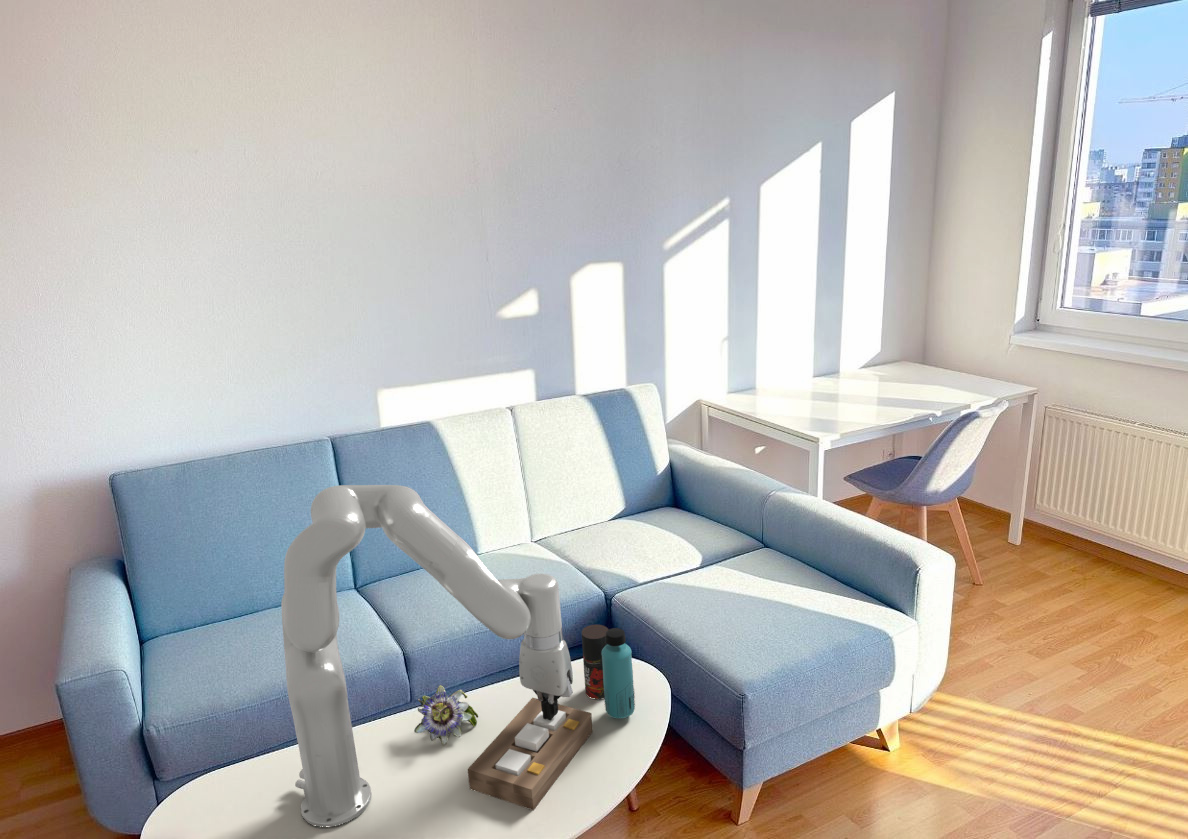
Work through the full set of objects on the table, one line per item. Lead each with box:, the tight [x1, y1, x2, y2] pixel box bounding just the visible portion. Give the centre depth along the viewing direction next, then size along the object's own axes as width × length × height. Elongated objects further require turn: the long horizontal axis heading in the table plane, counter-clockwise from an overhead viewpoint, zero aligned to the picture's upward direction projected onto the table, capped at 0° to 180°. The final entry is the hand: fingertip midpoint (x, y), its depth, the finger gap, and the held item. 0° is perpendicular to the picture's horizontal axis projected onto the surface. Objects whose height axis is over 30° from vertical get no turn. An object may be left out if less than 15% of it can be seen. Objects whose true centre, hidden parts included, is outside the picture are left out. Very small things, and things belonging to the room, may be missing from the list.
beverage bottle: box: [602, 627, 636, 719], centre depth 174 cm, size 6×7×20 cm
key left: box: [496, 749, 531, 777], centre depth 158 cm, size 5×5×2 cm
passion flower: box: [414, 684, 479, 746], centre depth 174 cm, size 11×11×12 cm
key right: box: [533, 710, 566, 731], centre depth 169 cm, size 5×5×2 cm
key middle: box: [515, 723, 549, 752], centre depth 163 cm, size 5×5×2 cm
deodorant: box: [581, 624, 609, 700], centre depth 183 cm, size 6×6×15 cm
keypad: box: [467, 697, 594, 811], centre depth 164 cm, size 14×24×5 cm, turn 153°
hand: (550, 715), depth 169 cm, fingers closed
